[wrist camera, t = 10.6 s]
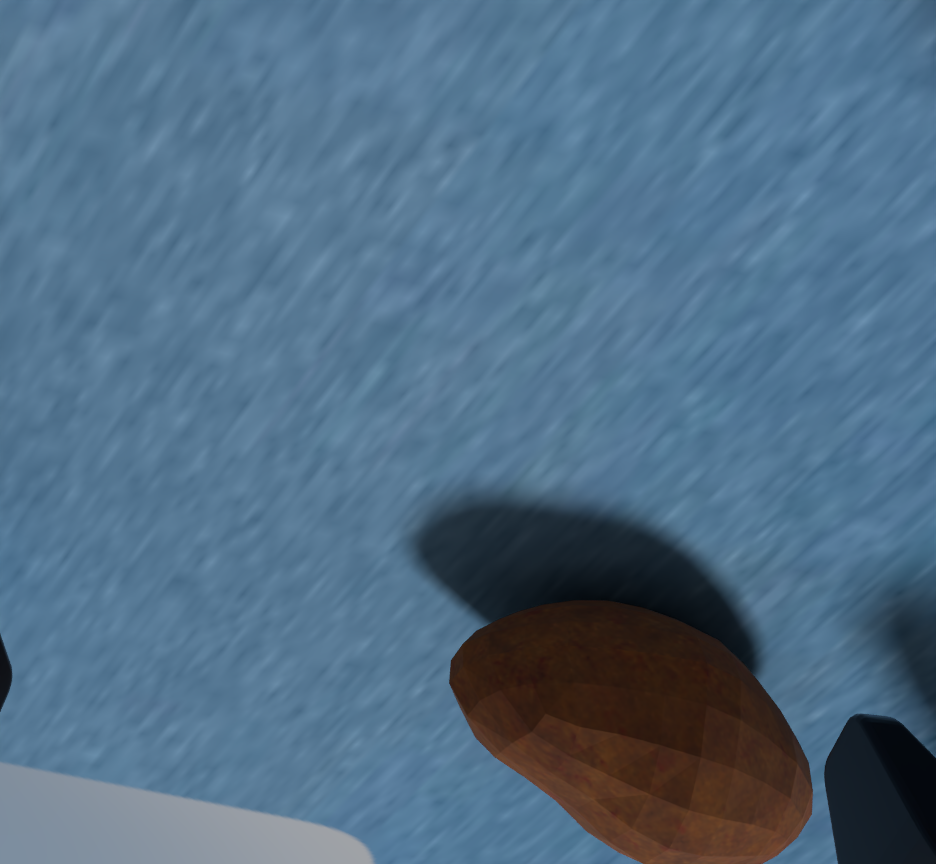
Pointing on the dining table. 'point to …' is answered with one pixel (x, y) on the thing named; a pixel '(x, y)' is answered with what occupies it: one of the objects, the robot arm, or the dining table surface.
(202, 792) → the dining table surface
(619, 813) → the potato
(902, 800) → the robot arm
